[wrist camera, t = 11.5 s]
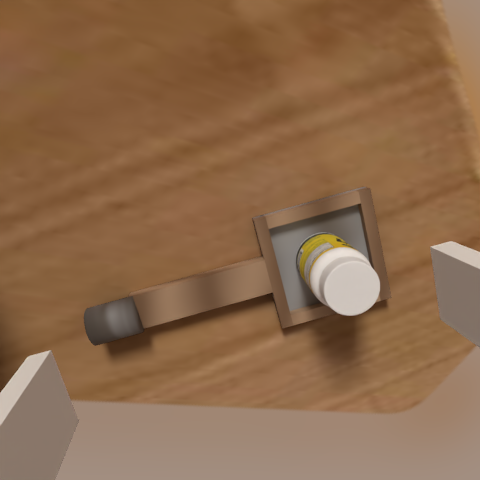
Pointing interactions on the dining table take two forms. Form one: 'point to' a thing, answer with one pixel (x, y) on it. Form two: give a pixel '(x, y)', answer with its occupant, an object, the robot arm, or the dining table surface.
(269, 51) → the dining table surface
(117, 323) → the wooden tray with handle
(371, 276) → the supplement bottle
